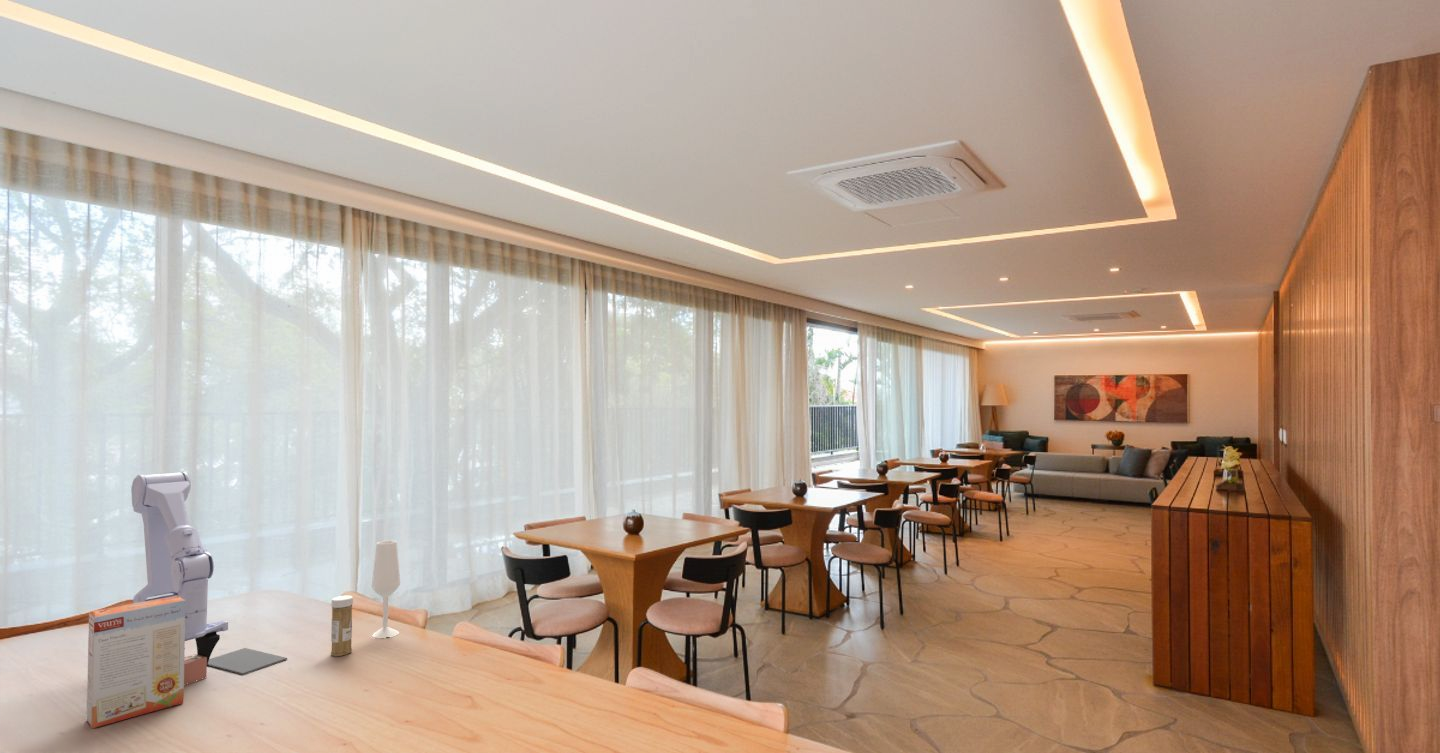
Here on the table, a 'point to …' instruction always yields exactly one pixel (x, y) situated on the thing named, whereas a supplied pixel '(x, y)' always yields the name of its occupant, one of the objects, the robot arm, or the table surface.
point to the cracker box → (135, 659)
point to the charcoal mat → (244, 661)
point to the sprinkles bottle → (341, 625)
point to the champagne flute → (386, 580)
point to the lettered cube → (194, 668)
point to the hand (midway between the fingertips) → (189, 673)
